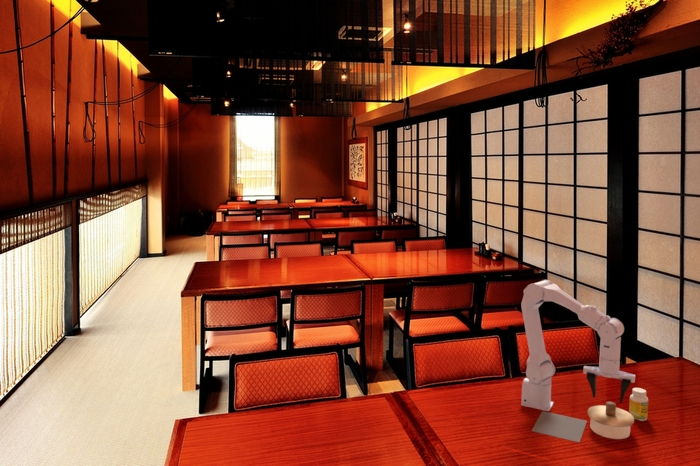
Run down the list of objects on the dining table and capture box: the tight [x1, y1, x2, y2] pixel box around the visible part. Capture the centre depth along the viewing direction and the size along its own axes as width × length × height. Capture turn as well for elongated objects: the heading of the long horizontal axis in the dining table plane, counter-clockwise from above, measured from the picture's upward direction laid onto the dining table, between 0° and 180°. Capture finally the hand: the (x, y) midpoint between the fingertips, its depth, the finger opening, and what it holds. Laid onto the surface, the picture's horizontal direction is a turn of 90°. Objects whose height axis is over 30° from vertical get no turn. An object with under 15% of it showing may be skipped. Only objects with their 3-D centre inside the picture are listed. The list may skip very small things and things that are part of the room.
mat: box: [531, 410, 588, 444], centre depth 166 cm, size 14×16×1 cm
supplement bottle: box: [628, 387, 649, 422], centre depth 172 cm, size 5×5×10 cm
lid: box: [587, 401, 635, 427], centre depth 162 cm, size 13×13×4 cm
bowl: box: [589, 418, 631, 440], centre depth 163 cm, size 11×11×5 cm
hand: (607, 399), depth 164 cm, fingers open, 7 cm apart
